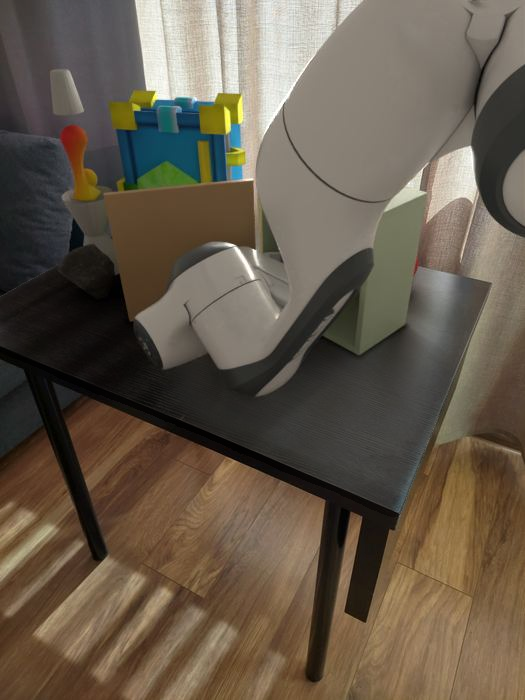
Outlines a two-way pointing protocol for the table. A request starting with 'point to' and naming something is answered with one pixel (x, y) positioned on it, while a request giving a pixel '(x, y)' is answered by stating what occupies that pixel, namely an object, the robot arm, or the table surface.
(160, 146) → the blue toy chest
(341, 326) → the cupboard
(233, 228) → the cupboard door
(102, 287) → the stone
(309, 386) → the table surface
